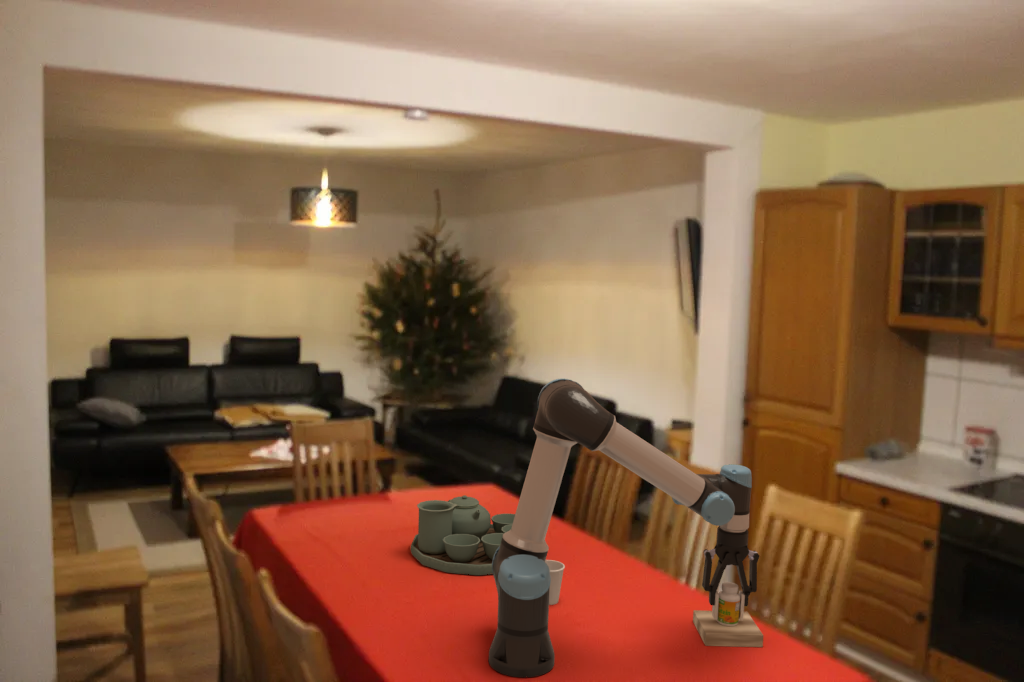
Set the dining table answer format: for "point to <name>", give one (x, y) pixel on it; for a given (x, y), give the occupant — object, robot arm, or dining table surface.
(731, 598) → the supplement bottle
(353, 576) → the dining table surface
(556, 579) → the dixie cup
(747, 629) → the birch stand
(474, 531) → the tea set
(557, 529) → the dining table surface
